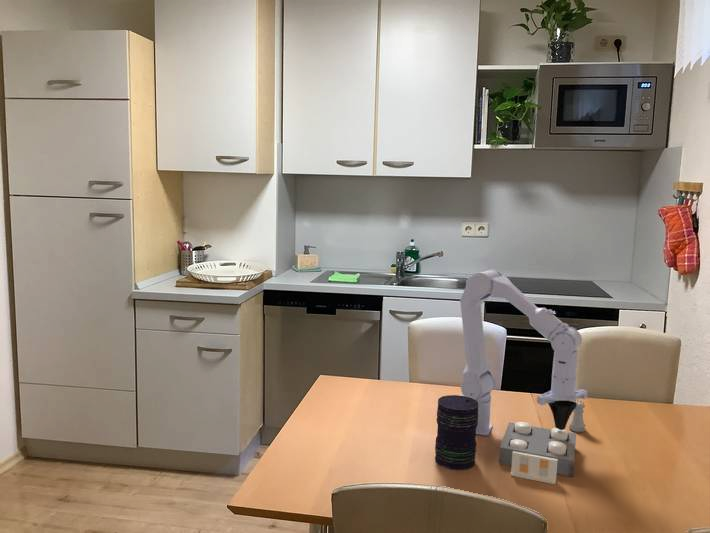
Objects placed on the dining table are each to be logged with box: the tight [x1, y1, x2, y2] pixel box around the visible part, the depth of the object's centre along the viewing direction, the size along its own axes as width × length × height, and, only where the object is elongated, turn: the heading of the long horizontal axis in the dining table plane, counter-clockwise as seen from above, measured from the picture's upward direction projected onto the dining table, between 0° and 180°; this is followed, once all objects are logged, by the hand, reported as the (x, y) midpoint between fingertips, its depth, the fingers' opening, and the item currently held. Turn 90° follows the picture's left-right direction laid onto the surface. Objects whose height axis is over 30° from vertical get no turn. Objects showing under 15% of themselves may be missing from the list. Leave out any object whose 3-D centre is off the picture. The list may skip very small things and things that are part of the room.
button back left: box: [515, 421, 532, 435], centre depth 159 cm, size 4×4×3 cm
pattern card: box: [509, 451, 558, 485], centre depth 142 cm, size 10×3×5 cm, turn 69°
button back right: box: [551, 427, 569, 441], centre depth 155 cm, size 4×4×3 cm
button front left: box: [509, 439, 528, 449], centre depth 151 cm, size 4×4×3 cm
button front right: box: [547, 441, 567, 456], centre depth 147 cm, size 4×4×3 cm
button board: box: [498, 422, 577, 478], centre depth 153 cm, size 17×17×4 cm
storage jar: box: [434, 394, 478, 471], centre depth 148 cm, size 10×10×15 cm
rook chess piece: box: [568, 399, 586, 433], centre depth 170 cm, size 4×4×8 cm
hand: (559, 428), depth 155 cm, fingers closed
